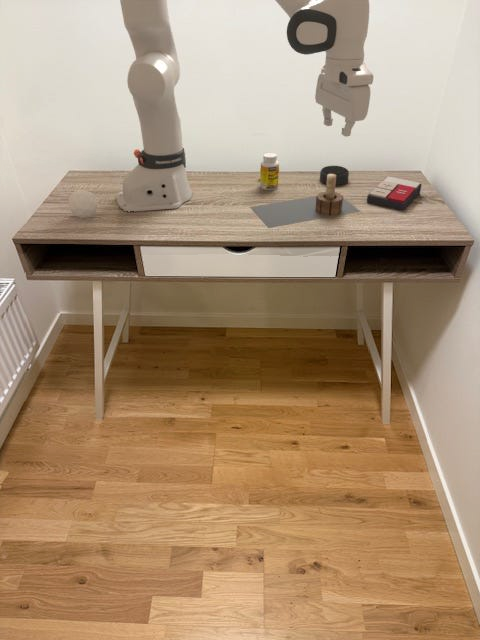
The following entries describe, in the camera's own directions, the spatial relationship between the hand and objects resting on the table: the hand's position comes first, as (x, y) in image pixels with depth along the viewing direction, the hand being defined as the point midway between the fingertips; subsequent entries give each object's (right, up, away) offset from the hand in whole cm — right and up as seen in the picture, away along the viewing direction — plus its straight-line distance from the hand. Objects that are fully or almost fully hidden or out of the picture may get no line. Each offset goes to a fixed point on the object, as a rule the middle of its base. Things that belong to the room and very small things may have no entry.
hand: (336, 130), depth 123 cm
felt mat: (-6, -17, +14) cm, 23 cm away
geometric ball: (-68, -19, +13) cm, 72 cm away
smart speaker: (+5, -4, +31) cm, 32 cm away
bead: (0, -17, +13) cm, 22 cm away
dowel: (0, -17, +13) cm, 22 cm away
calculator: (+21, -13, +20) cm, 32 cm away
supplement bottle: (-16, -7, +28) cm, 33 cm away
